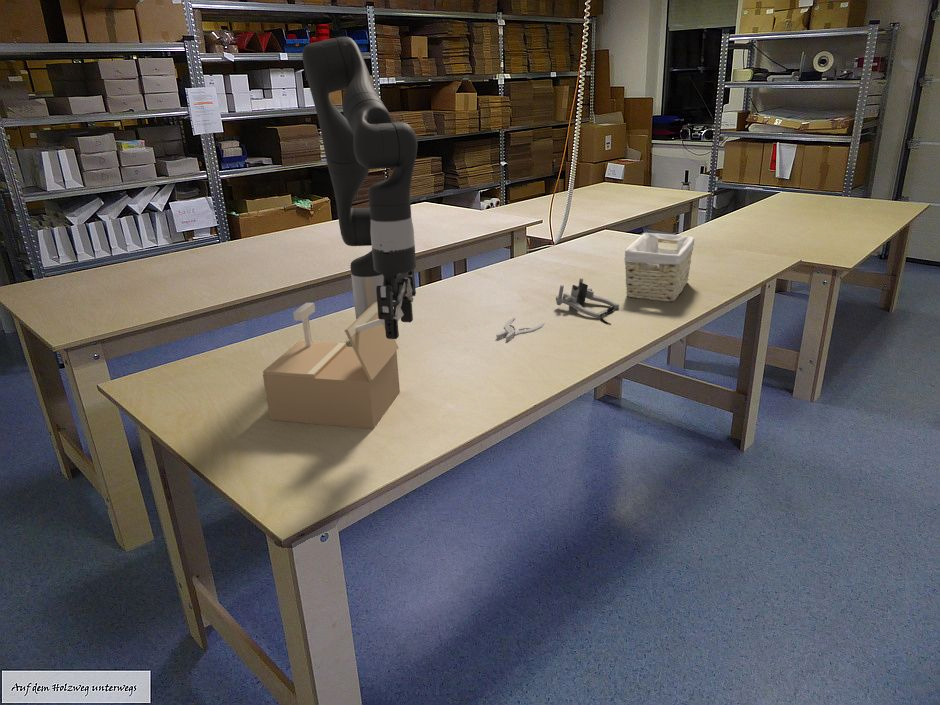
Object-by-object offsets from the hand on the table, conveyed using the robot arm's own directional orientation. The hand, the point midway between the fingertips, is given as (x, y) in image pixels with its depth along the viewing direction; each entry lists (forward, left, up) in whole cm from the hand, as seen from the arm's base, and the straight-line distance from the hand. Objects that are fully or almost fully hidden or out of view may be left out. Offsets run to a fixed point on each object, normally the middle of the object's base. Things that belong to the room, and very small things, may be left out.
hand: (400, 329), depth 122 cm
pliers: (-52, +13, -20) cm, 57 cm away
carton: (-5, -17, -19) cm, 26 cm away
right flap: (-5, -8, -4) cm, 10 cm away
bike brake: (-71, +32, -20) cm, 80 cm away
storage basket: (-92, +50, -20) cm, 107 cm away
